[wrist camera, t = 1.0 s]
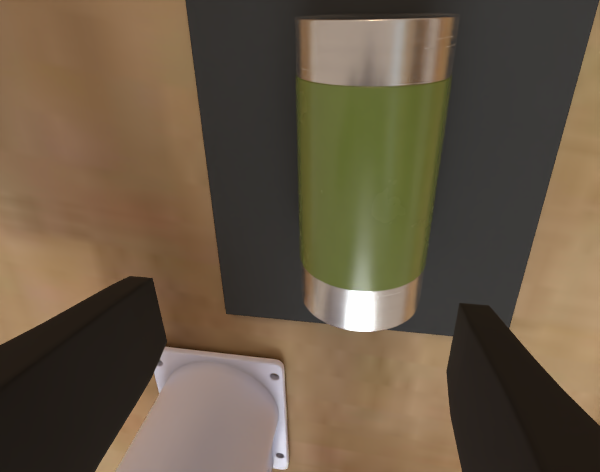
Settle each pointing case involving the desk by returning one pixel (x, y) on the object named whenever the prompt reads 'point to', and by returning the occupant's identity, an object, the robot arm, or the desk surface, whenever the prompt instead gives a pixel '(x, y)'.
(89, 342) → the robot arm
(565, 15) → the mat
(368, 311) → the can
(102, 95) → the desk surface
